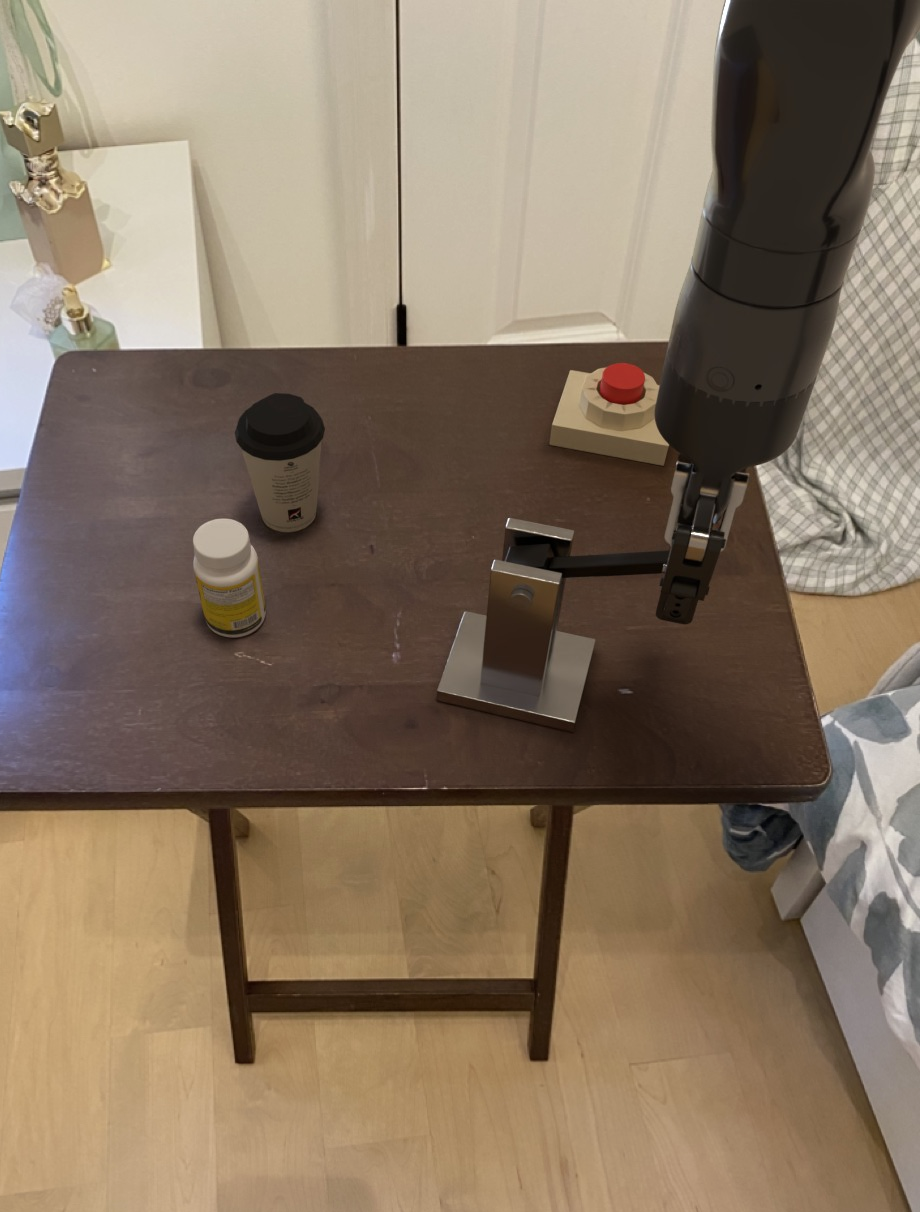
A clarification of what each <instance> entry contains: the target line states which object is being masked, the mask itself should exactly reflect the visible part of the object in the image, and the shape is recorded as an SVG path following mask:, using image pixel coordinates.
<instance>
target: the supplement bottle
mask: <svg viewBox="0 0 920 1212" xmlns="http://www.w3.org/2000/svg"><path fill="white" fill-rule="evenodd" d="M192 544H193V552H194V557H193V562H192V563H193V564H192V568H193V574H194V577H195V582H196V585H197V590H198V594H199V598H200V603H201V607H202V612H203V615H204V620H205V622H206V625H207V626H208V628H209V629H210V630H211V631H212V632H213V633H215V634H217V635H219V636H220V637H221V636H222V637H226V638H243V637H245V636H249V635H250V634H252V633H254V632H256V631H257V630H258V629H259V628H260V627H261V626H262V624H263V623H264V621H265V619H266V614H267V607H266V601H265V594H264V589H263V582H262V577H261V570H260V564H259V557H258V554H257V552H256V549H255V548H254V546H253V545H252V544H251V540H250V533H249V531H248V529H247V528H246V526H245V525H244V524H243V523H241V522H239V521H238V520H235V519H231V518H215V519H212V520H209V521H206V522H205V523H203V524H201V525H200V526H199V527H198V528H197V529H196V531H195V533H194V534H193V537H192Z"/></svg>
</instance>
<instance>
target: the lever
mask: <svg viewBox="0 0 920 1212" xmlns="http://www.w3.org/2000/svg"><path fill="white" fill-rule="evenodd" d="M689 526H692V525H689ZM669 551H670V550H669V549H665V550H647V551H632V552H615V553H614V552H613V553H600V554H598V553H597V554H584V555H583V554H581V555H570V556H565V557H554V554H553V551H552V548H551V545H550V544H535V545H520V546H510V547H509V550H508V553H507V556H506V559H505V562H510V563H515V564H520V565H525V566H529V567H534V568H539V569H544V570H549V571H554V572H558V573H562V579H564V578H566V579H579V578H581V579H582V578H598V577H599V578H601V577H618V576H619V577H621V576H638V575H639V576H640V575H657V574H658V575H659V574H664V572H662V569H663V565H664V564H666V563H667V559H668V555H669Z"/></svg>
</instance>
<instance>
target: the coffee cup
mask: <svg viewBox="0 0 920 1212" xmlns="http://www.w3.org/2000/svg"><path fill="white" fill-rule="evenodd" d="M325 431H326V427H325V423H324V419H323V418H322V416H320V414H319V413H318V411H317V410H316V409H315V407H313V406H312V405H309V404H308V403H306V402H305V401H304V399H303V398H302V396H298V395H295V394H292V393H283V392H282V393H281V392H280V393H279V392H274V393H272V394H269V395H267V396H266V397H263V398H262V399H259V400H258V401H256V402H254V403H253V404H252V405H251V406H250V407H248V408H247V409H245V411H244V412H243V413H242V414H241V415H240V417H238V420H237V423H236V427H235V430H234V437H235V442H236V444H237V445H238V446H239V447H240V449H241V452H242V455H243V459H244V463H245V465H246V469H247V472H248V475H249V479H250V482H251V486H252V489H253V493H254V496H255V500H256V502H257V505H258V508H259V512H260V515H261V519H262V521H263V523H264V524H265V525H266V526H267V527H268V528H270V529H271V530H273V531H277V532H280V533H293V532H299V531H301V530H304V529H306V528H307V527H309V526H310V525H311V524H312V523H313V521H314V520H315V519H316V517H317V516H316V515H317V510H318V496H319V494H318V493H319V481H320V468H321V467H320V466H321V452H322V440H323V439H324V437H325Z"/></svg>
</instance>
